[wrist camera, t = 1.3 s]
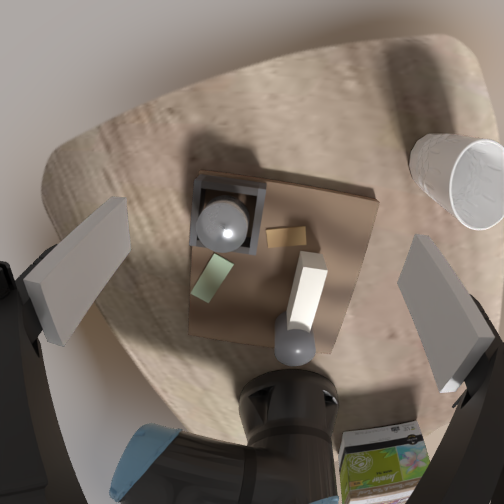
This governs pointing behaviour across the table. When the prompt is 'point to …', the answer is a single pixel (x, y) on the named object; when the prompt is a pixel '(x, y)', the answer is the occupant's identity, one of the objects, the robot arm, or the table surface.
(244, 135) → the table surface
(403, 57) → the table surface
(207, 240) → the button
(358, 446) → the tea box
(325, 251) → the board
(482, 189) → the white cup
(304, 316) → the peg lever
